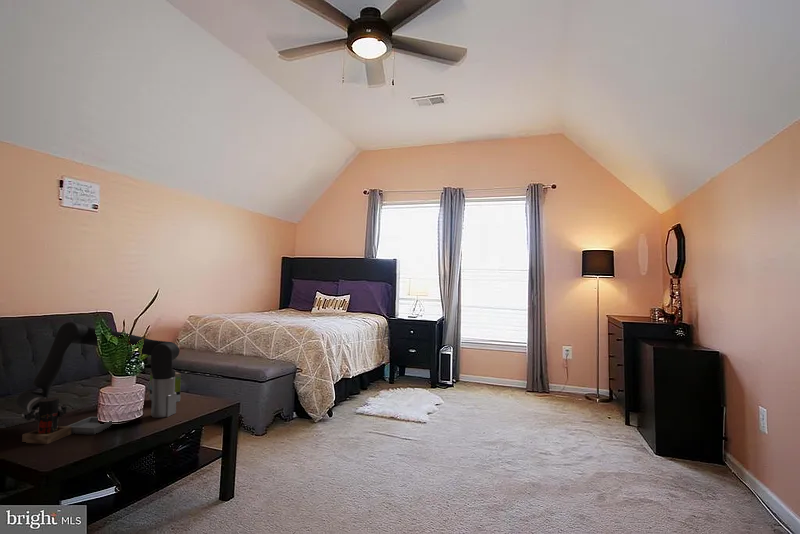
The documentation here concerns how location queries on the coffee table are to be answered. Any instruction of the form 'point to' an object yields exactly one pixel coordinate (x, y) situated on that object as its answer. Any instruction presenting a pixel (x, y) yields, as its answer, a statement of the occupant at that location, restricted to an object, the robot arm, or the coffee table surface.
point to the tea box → (177, 385)
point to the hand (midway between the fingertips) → (50, 416)
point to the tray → (89, 426)
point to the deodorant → (48, 415)
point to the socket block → (46, 435)
